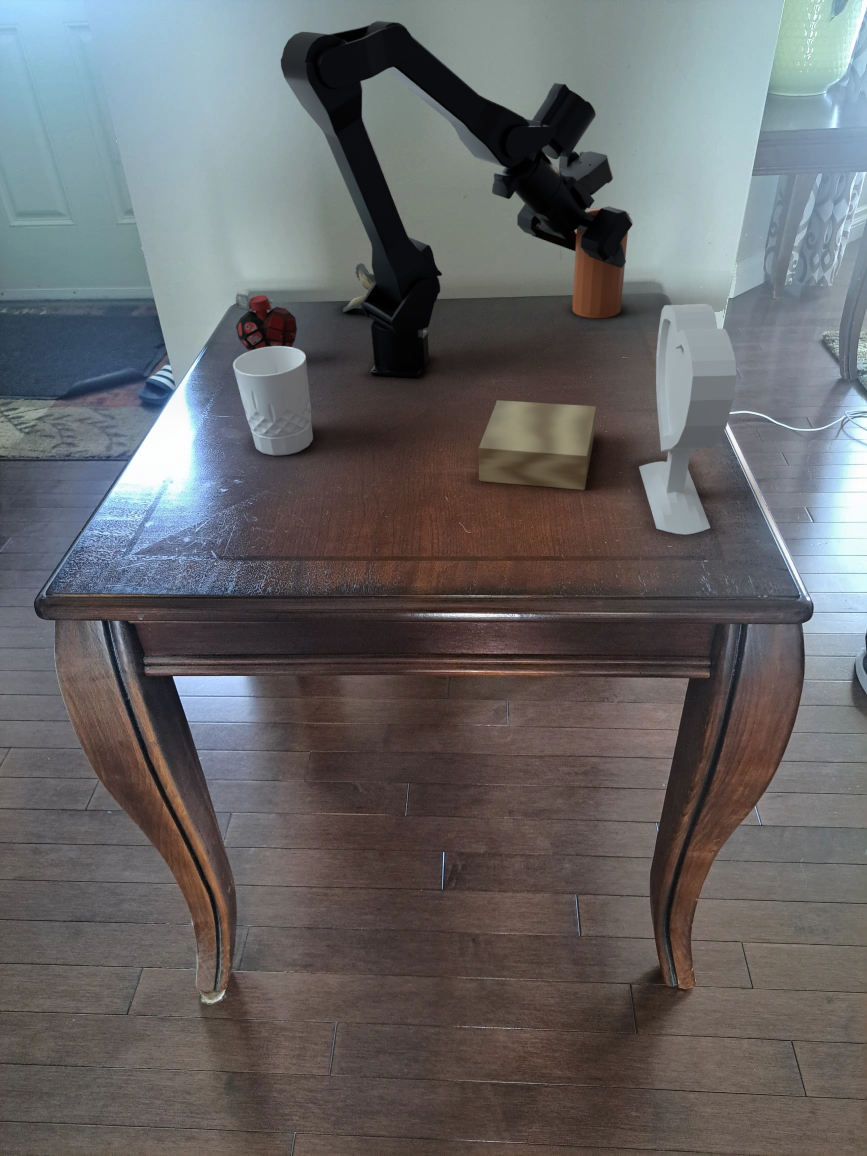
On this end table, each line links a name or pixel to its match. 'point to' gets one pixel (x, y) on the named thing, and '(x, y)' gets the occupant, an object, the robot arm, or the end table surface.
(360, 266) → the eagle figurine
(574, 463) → the birch block
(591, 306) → the jar
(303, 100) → the robot arm
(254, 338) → the grenade
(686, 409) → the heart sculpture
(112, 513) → the end table surface
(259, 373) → the white cup
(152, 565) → the end table surface
